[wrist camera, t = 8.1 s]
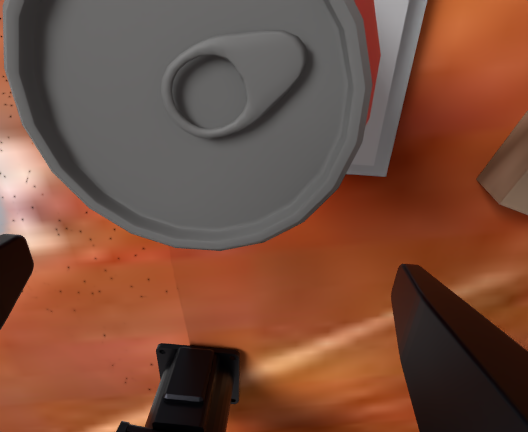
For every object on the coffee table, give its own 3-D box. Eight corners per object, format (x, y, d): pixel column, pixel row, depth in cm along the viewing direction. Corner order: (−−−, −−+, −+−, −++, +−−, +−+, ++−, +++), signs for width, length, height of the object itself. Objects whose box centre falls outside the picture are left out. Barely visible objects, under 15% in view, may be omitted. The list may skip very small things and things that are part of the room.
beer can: (357, 67, 16) (456, 207, 6) (225, 127, 18) (135, 310, 8) (299, -111, 13) (304, -391, 3) (148, -18, 15) (-144, -14, 5)
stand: (382, 168, 21) (389, 185, 19) (133, 151, 22) (119, 165, 20) (463, -189, 14) (486, -213, 12) (81, -201, 14) (52, -225, 12)
